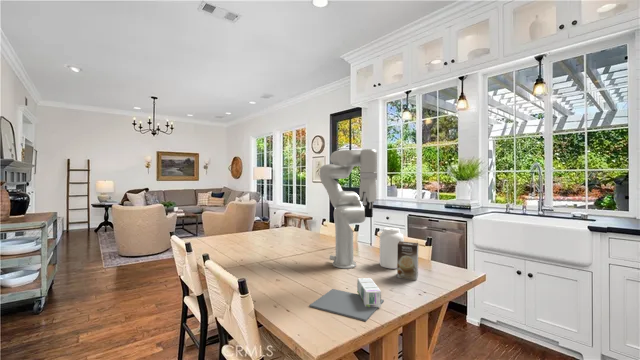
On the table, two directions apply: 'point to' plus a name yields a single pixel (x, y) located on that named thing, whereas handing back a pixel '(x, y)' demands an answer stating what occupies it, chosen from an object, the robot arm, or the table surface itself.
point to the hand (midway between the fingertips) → (368, 217)
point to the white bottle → (389, 247)
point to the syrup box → (369, 292)
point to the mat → (344, 304)
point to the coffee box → (407, 260)
